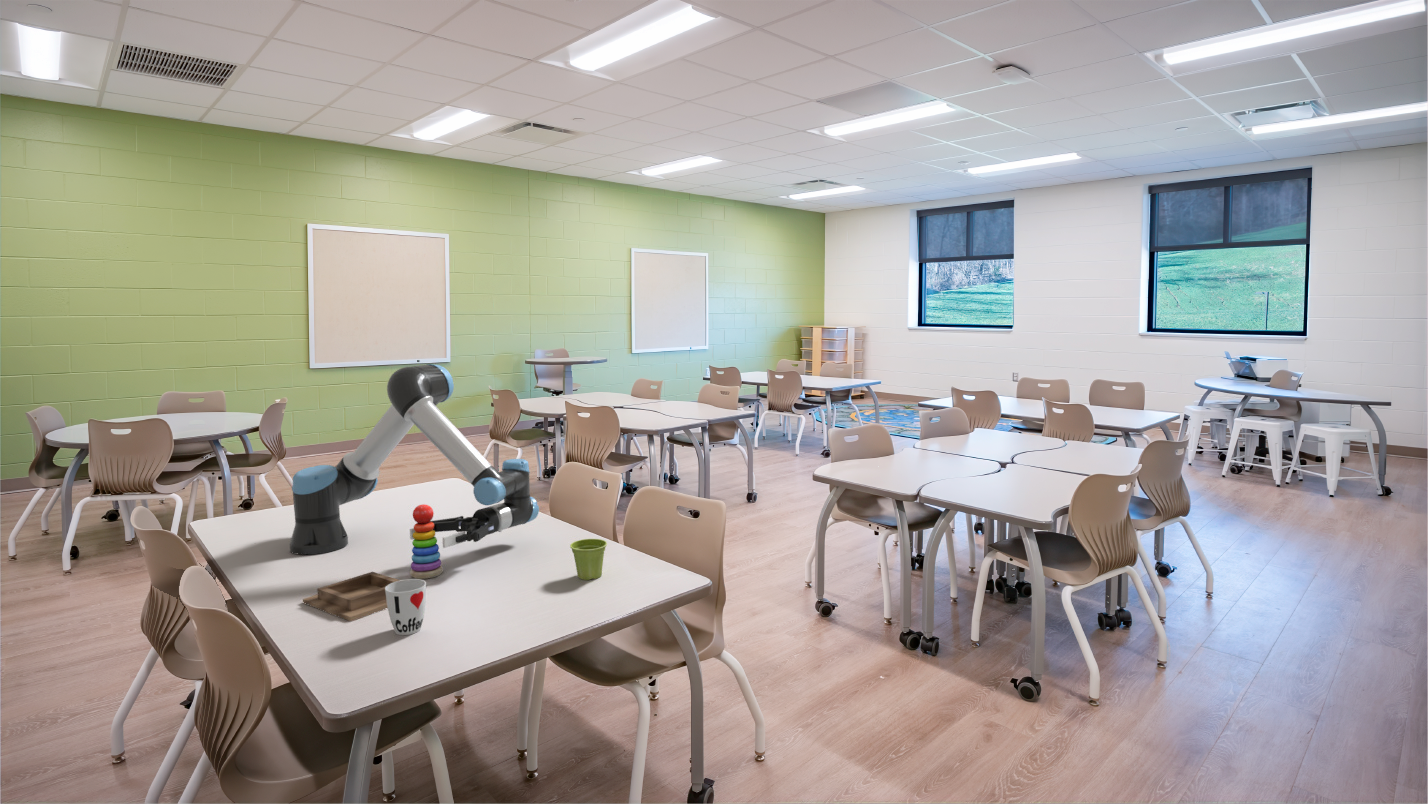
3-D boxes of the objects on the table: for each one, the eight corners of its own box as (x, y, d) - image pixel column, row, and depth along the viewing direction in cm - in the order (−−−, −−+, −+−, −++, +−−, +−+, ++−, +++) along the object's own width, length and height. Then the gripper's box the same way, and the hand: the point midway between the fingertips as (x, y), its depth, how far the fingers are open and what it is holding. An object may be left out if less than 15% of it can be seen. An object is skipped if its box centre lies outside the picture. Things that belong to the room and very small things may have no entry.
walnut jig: (303, 602, 175) (301, 588, 175) (373, 580, 190) (372, 567, 190) (350, 621, 164) (349, 606, 164) (421, 595, 179) (421, 581, 179)
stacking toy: (449, 571, 197) (446, 502, 195) (428, 581, 189) (425, 509, 187) (425, 568, 199) (421, 500, 197) (403, 578, 192) (399, 507, 190)
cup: (389, 641, 154) (386, 594, 153) (386, 627, 161) (383, 582, 160) (430, 633, 158) (428, 588, 157) (425, 619, 165) (423, 576, 164)
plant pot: (596, 584, 186) (595, 551, 185) (564, 580, 190) (563, 547, 189) (614, 572, 195) (613, 540, 194) (582, 568, 198) (582, 537, 197)
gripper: (522, 539, 204) (458, 560, 187) (463, 526, 218) (398, 544, 200) (521, 512, 204) (457, 531, 186) (462, 501, 217) (397, 517, 199)
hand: (426, 538), depth 193 cm, fingers open, 13 cm apart
